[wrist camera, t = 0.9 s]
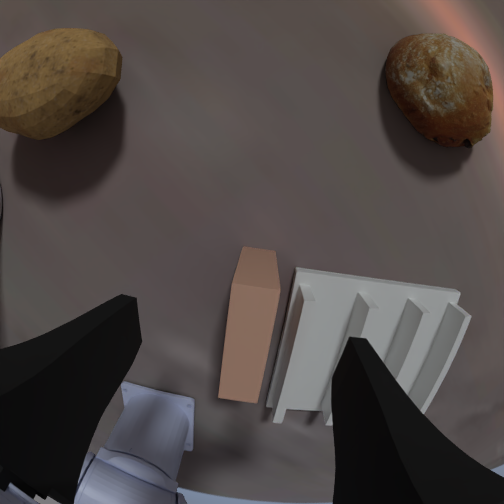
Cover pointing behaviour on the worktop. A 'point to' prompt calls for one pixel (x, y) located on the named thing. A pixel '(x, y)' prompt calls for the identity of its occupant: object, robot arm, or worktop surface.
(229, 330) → the tile
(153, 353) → the worktop surface
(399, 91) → the bread roll
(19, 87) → the potato
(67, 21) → the worktop surface
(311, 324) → the dish rack
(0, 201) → the fruit juice
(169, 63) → the worktop surface
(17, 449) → the robot arm
